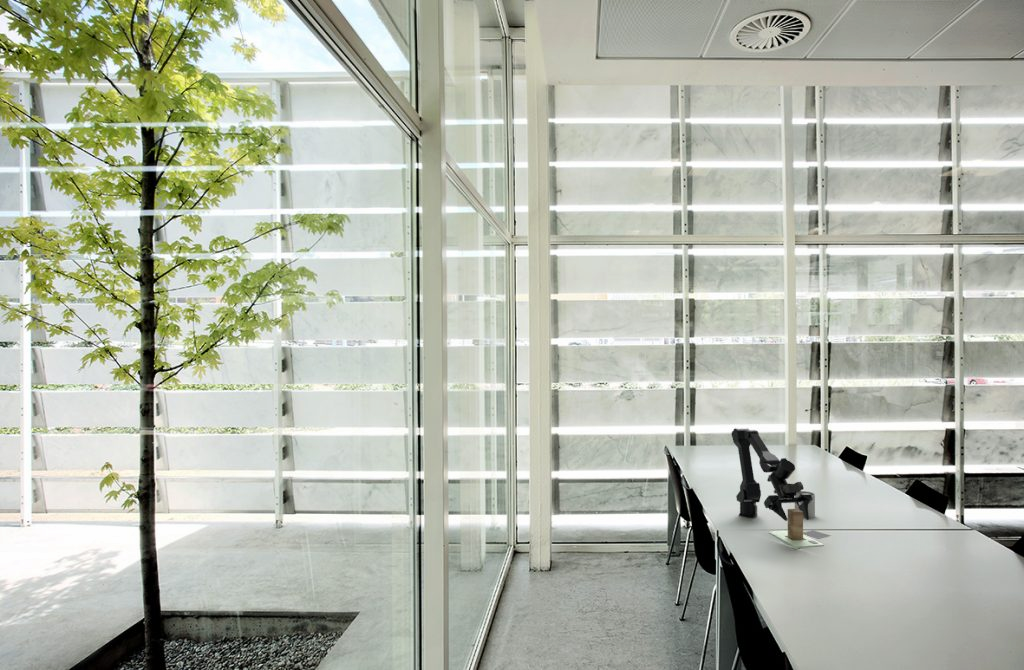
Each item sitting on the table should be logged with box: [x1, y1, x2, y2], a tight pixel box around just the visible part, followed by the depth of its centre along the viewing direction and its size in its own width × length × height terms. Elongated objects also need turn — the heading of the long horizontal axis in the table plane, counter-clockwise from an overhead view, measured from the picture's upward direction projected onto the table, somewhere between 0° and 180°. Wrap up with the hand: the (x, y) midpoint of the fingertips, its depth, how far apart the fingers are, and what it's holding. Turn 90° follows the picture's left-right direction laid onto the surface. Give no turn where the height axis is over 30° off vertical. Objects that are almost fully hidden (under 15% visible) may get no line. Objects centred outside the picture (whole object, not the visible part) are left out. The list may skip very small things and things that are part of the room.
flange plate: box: [768, 529, 825, 550], centre depth 241 cm, size 18×12×1 cm, turn 9°
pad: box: [803, 529, 832, 540], centre depth 247 cm, size 8×8×1 cm
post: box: [787, 508, 804, 541], centre depth 241 cm, size 4×4×12 cm
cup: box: [794, 490, 816, 519], centre depth 275 cm, size 8×8×10 cm
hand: (797, 519), depth 240 cm, fingers open, 9 cm apart
